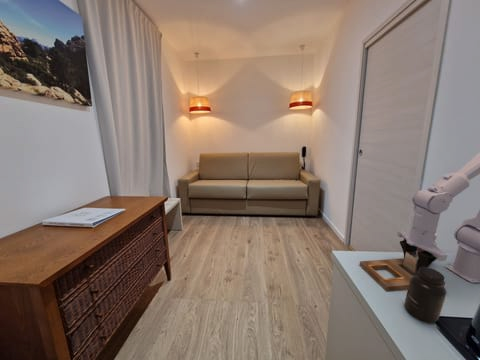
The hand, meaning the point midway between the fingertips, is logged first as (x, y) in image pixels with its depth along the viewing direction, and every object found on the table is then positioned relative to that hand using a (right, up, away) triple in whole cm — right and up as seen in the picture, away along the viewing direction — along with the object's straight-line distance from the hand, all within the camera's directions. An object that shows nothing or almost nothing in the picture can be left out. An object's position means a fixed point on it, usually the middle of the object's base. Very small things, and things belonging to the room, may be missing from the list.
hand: (414, 267), depth 68 cm
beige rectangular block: (0, -3, +1) cm, 3 cm away
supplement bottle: (-10, -6, -14) cm, 18 cm away
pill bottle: (+8, -1, +8) cm, 11 cm away
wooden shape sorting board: (-5, -3, 0) cm, 6 cm away
